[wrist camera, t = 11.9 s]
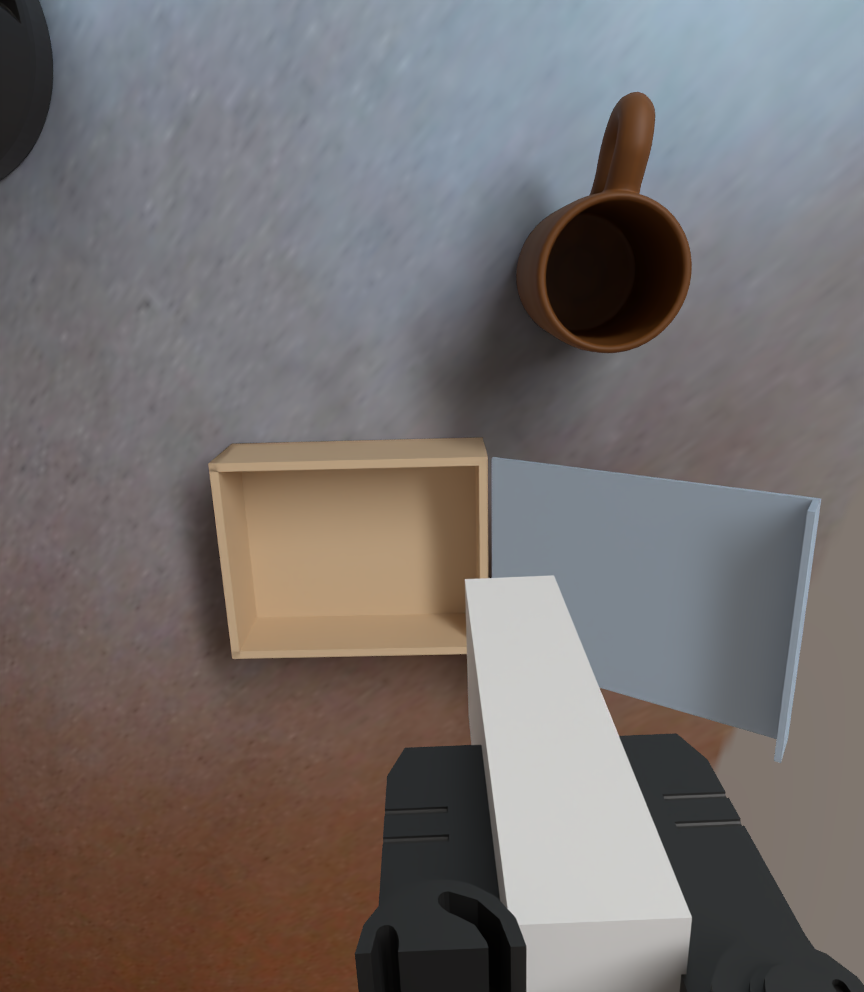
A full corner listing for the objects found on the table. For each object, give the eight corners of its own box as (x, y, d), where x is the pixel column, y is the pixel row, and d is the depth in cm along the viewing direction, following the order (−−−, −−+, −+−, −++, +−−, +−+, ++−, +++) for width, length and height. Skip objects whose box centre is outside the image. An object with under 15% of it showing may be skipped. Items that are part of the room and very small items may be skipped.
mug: (536, 113, 41) (564, 69, 32) (669, 130, 41) (735, 91, 32) (505, 331, 44) (522, 346, 35) (628, 345, 44) (676, 365, 35)
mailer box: (252, 621, 50) (232, 658, 45) (231, 443, 46) (208, 463, 42) (483, 616, 50) (488, 653, 45) (482, 437, 46) (487, 456, 41)
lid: (780, 762, 35) (787, 738, 36) (815, 512, 31) (821, 498, 32) (477, 669, 43) (494, 653, 45) (475, 465, 40) (494, 456, 41)
